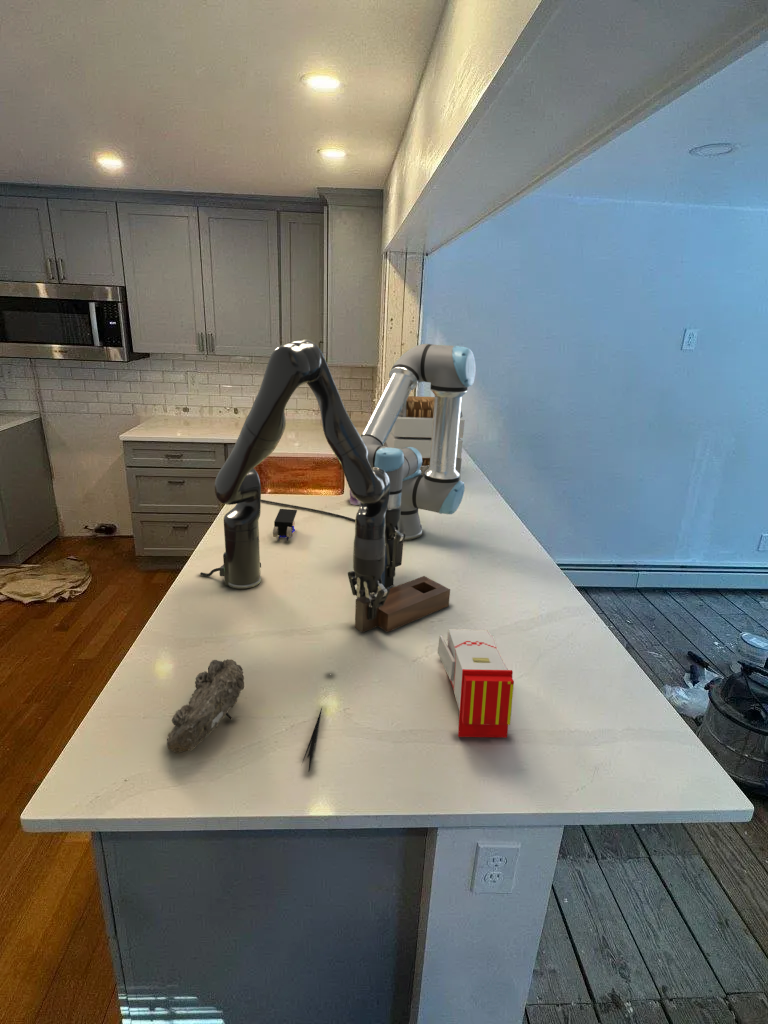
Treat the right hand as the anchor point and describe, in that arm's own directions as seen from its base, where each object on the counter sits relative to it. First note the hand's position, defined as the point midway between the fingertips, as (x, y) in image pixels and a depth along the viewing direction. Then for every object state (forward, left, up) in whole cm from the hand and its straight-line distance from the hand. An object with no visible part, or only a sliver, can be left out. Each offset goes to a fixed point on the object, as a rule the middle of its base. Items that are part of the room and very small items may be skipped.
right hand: (383, 582), depth 161 cm
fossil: (+22, -61, -1) cm, 65 cm away
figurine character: (-48, -3, -1) cm, 48 cm away
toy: (+47, -16, -1) cm, 50 cm away
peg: (0, 0, -1) cm, 1 cm away
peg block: (+14, -7, -1) cm, 15 cm away
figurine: (-62, +40, -1) cm, 74 cm away
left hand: (+14, -17, +2) cm, 22 cm away
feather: (+35, -46, -1) cm, 57 cm away
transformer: (-80, +92, -1) cm, 121 cm away
